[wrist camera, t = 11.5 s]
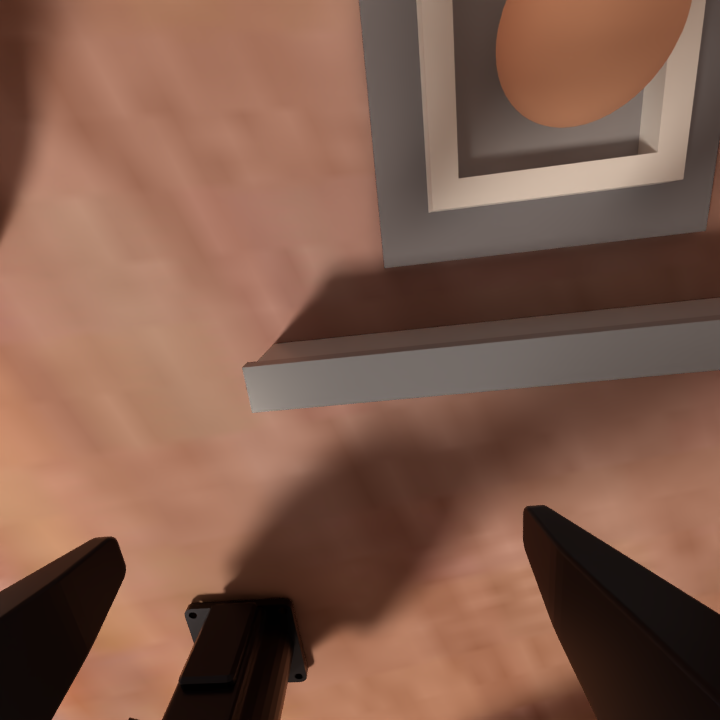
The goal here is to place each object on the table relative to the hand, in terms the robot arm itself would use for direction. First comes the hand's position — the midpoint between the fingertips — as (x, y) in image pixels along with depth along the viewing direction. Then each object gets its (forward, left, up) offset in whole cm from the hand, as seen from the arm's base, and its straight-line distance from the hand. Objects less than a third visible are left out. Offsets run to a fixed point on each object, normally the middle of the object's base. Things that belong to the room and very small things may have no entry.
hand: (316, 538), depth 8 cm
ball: (+11, -9, -8) cm, 16 cm away
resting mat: (+11, -9, -11) cm, 18 cm away
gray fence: (+1, -9, -11) cm, 14 cm away
